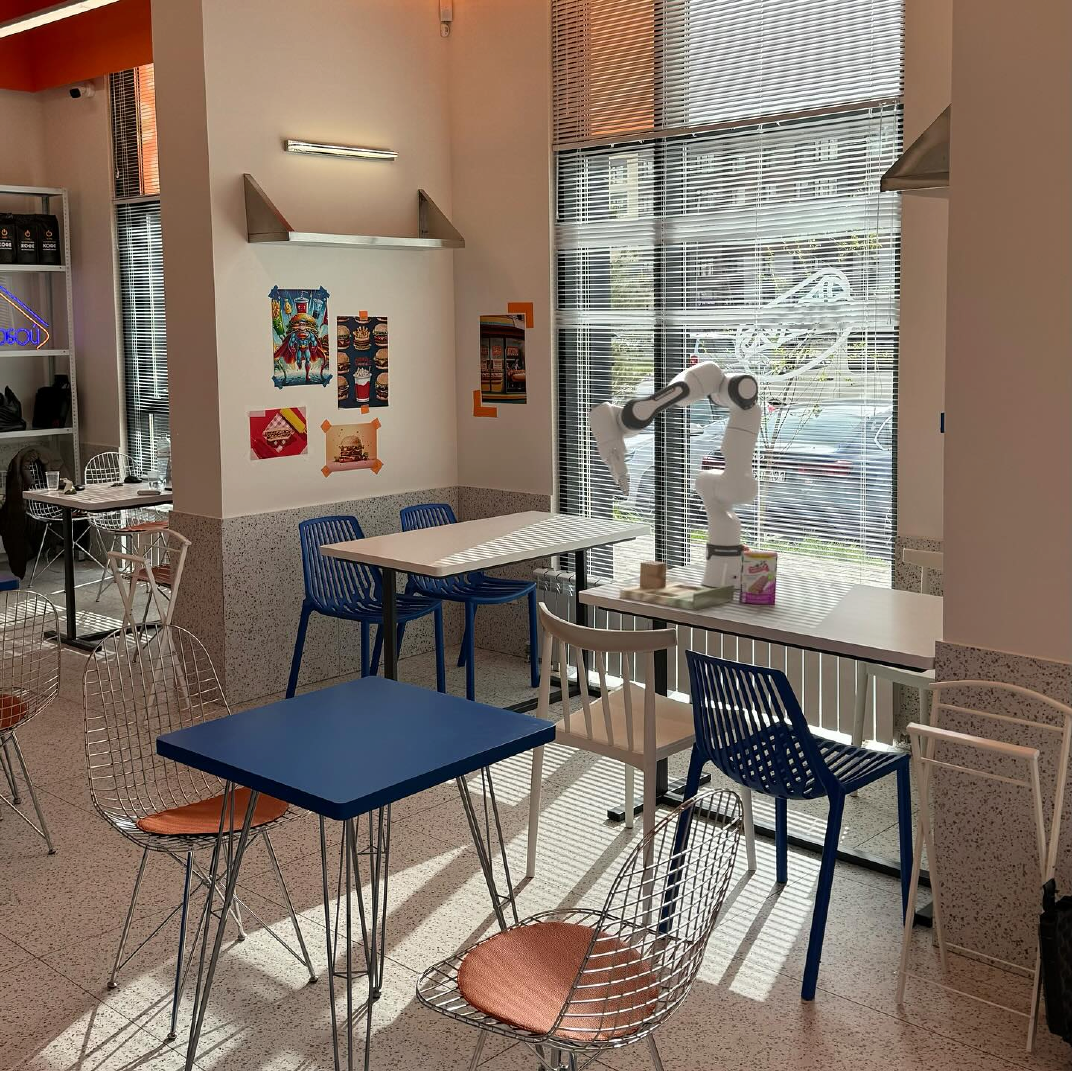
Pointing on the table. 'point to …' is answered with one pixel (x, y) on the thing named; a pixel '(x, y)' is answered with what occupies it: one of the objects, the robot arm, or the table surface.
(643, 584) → the walnut block
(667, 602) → the trap deck
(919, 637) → the table surface
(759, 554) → the candy bar box
